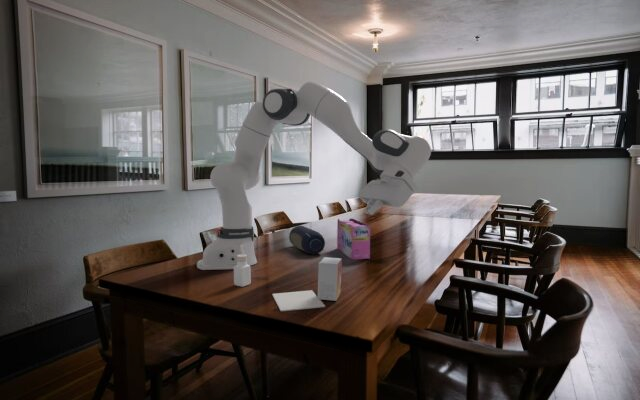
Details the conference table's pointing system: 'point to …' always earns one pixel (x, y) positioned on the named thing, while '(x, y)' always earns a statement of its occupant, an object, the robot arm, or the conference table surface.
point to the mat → (297, 300)
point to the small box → (329, 278)
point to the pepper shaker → (242, 271)
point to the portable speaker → (307, 239)
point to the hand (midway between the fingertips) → (367, 213)
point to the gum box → (353, 239)
